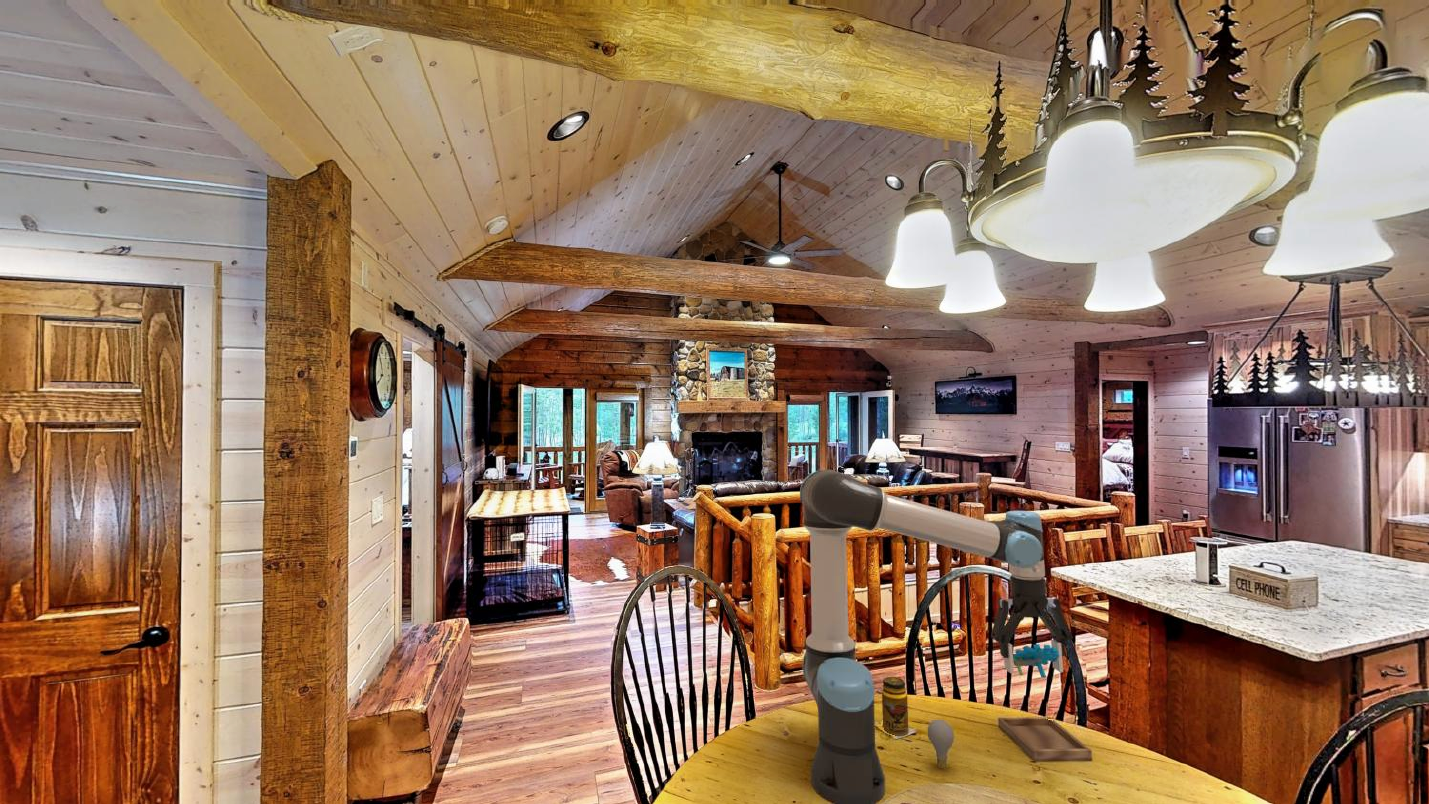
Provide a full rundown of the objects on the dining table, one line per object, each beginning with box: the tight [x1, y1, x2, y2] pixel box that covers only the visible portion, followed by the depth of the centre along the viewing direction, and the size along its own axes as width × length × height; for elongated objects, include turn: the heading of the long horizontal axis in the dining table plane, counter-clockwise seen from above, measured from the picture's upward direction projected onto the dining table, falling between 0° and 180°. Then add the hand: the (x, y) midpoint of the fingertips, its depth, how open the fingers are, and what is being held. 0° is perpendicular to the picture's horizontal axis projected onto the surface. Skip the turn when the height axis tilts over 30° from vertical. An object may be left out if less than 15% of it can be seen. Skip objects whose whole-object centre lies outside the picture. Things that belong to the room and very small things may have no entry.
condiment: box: [875, 676, 918, 740], centre depth 137 cm, size 7×8×12 cm
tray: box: [997, 716, 1093, 763], centre depth 130 cm, size 13×15×2 cm
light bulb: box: [927, 718, 955, 770], centre depth 120 cm, size 6×6×10 cm
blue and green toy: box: [1013, 643, 1059, 679], centre depth 129 cm, size 11×6×10 cm
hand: (1033, 670), depth 130 cm, fingers closed on blue and green toy, 11 cm apart
